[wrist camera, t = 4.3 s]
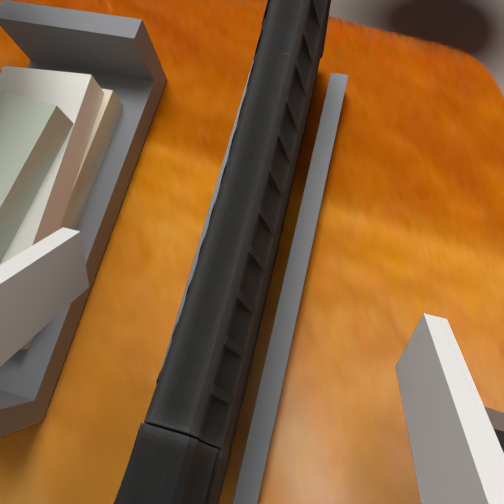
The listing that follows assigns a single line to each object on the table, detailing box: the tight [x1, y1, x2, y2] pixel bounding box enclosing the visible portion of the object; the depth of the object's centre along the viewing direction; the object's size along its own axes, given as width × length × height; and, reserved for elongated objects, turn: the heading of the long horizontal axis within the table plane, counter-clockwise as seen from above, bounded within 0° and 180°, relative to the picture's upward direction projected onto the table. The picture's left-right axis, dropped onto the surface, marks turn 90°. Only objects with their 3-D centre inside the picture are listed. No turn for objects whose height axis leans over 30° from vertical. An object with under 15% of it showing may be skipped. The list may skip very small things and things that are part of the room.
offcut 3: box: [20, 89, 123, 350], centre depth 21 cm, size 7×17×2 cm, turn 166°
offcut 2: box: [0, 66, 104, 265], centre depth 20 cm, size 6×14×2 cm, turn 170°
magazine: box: [114, 0, 331, 504], centre depth 17 cm, size 17×3×30 cm
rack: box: [0, 0, 348, 504], centre depth 20 cm, size 23×28×5 cm
